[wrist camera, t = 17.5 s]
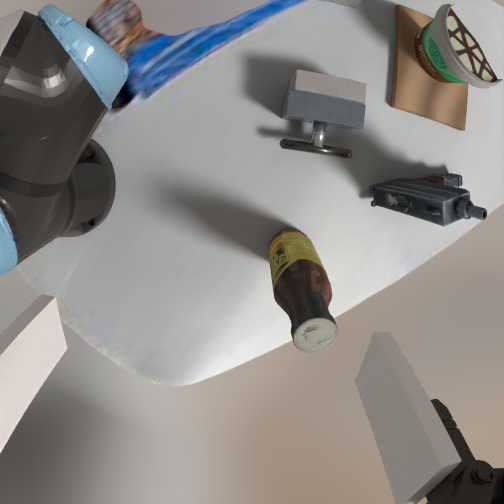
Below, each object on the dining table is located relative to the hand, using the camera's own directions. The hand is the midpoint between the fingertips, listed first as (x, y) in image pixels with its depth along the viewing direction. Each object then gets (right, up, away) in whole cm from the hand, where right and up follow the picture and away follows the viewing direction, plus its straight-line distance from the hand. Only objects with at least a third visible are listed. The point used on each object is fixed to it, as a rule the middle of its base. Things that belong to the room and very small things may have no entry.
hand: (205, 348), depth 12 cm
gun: (+25, +14, +29) cm, 41 cm away
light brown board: (+28, +31, +22) cm, 48 cm away
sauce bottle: (+7, +4, +33) cm, 34 cm away
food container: (+27, +31, +21) cm, 46 cm away
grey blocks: (+11, +30, +23) cm, 39 cm away
